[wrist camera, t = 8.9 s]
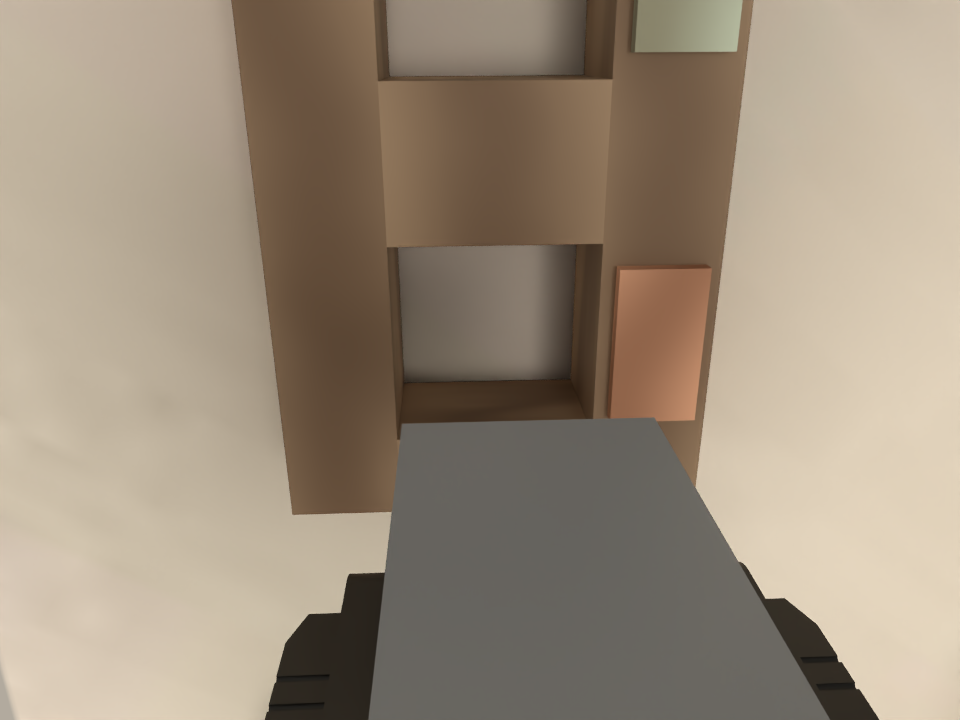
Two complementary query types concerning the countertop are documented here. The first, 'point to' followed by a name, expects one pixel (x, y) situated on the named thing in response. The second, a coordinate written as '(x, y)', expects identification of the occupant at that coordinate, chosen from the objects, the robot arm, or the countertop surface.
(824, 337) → the countertop surface
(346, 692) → the robot arm
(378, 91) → the socket block
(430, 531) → the plug
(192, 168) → the countertop surface
